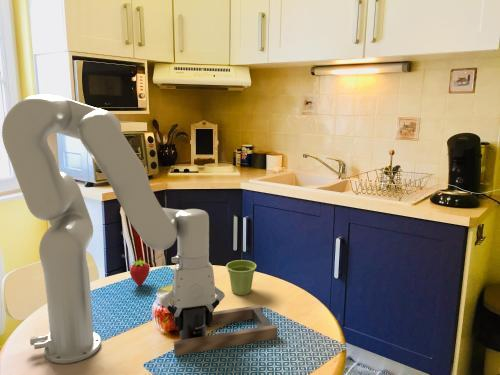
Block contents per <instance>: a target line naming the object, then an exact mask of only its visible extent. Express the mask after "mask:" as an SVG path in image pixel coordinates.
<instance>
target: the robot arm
mask: <svg viewBox="0 0 500 375" xmlns="http://www.w3.org/2000/svg"><path fill="white" fill-rule="evenodd" d="M3 120H4V121H3V123H2V127H1V137H2V142H3V145H4V149H5V152H6V153H7V157H8V159H9V161H10V163H11V165H12V166H11V167H12V168H13V171H14V174H15V178H16V180H17V182H18V185H19V188H20V190H21V193H22V196H23V198H24V200H25V204H26V206H27V208H28V210H29V212H30V213H31V214H32V216H33V217H35V218H36V219H39V220H41V221H48V222H49V224H50V227H48V229H47V230H46V231H45V232H44V233H43V236H42V238H41V240H40V242H39V246H38V247H39V248H38V249H39V250H38V252H39V259H40V262H41V267H42V270H43V277H44V286H45V294H46V304H47V315H48V323H49V326H48V328H49V332H48V333H45V335H35V336H31V337H29V338H30V339H29V344H30V346H34V347H33V348H34V350H40V349H43V348H44V357H45V358H46V359H47V361H49V362H52V363H56V364H71V363H76V362H77V363H78V362H80V361H83V360H86V359H88V358H90V357H91V356H92V355H94V354H95V353H97V351H98V350H99V349H100V347H101V344H102V342H101V340H102V339H101V335H99V334H98V333H96V332H95V331H94V324H93V322H94V320H93V309H92V296H91V295H92V292H91V283H90V282H91V280H90V271H89V265H88V259H87V249H88V247H89V244H90V242H91V240H92V239H93V235H94V226H93V222H92V219H91V216H90V213H89V210H88V207H87V204H86V203H85V199H84V197H83V194H82V191H81V188H80V186H79V184H78V183H77V181H76V180H75V179H74V177H72V176H71V175H70V174H68V173H66V172H63V171H60V169H59V166H58V163H57V160H56V158H55V155H54V153H53V150H52V149H51V148H50V145H49V143H48V138H49V136H51V135H52V134H53V135H54V134H59V135H63V136H66V137H71V138H74V139H77V140H80V142H81V144H82V145H83V146H84V148H85V150H86V151H87V153H88V154H89V155H90V157H91V159H92V160H93V161H94V162H95V164H96V166H97V167H98V169H99V170H100V172H101V173H102V174H103V176H104V178H106V180H107V182H108V184H109V185H110V186H111V189H112V191H113V193H114V195H115V197H116V199H117V201H118V202H119V205H120V207H121V209H122V210H123V212H124V214H125V215H126V217H127V220H128V221H129V223H130V224H131V225H132V228H134V230H135V231H136V232H137V234H138V236H139V238H140V239H141V240H142V242H143V243H144V244H145V245H146V246H147V247H148V248H150V249H153V250H155V251H165V250H167V249H169V248H171V247H172V246H173V245H174V244H175V242H176V240H177V254H176V255H175V256H172V257H171V263H173V264H174V263H175V266H174V270H173V275H172V276H173V278H172V290H170V291H169V292H168V293H167V294H166V295H165V296H163V298H162V299H161V300H160V304H161V305H162V306H163V307H164V308H165V309H166V310H167V311H168V312H169V313H171V314H172V315H173V318H174V325H175V327H177V328H178V331H177V332H180V331H181V315H180V312H181V310H182V308H190V307H198V306H205V305H206V306H207V327H208V328H211V325H210V322H212V318H213V312H215V309H216V308H217V307H218V306H219V305H220V303H221V301H222V300H223V299H224V298H225V295H226V294H225V292H223V291H222V290H221V289H219V288H218V287H217V286H216V285H215V275H214V268H213V265H212V263H211V262H210V260H209V259H210V258H209V256H210V243H209V242H210V219H209V218H210V216H209V213H208V212H207V211H206V210H203V209H198V208H187V209H177V208H176V209H175V208H169V207H168V208H167V207H162V205H161V204H160V202H159V200H158V199H157V197H156V195H155V193H154V191H153V188H152V186H151V183H150V180H149V176H148V173H147V170H146V167H145V166H144V164H143V162H142V161H141V159H140V158H139V157H138V156H139V155H137V154H136V152H135V150H134V149H133V147H132V146H131V144H130V143H129V141H128V140H127V137H126V136H125V135H124V133H123V132H122V124H121V122H120V120H119V118H118V117H117V116H116V115H115V114H114V113H112V112H110V111H108V110H105V109H102V108H97V107H94V106H91V105H88V104H84V103H81V102H78V101H75V100H72V99H68V98H65V97H63V96H60V95H54V94H35V95H30V96H28V97H25V98H23V99H21V100H20V101H18V102H16V104H14V105H13V106H12V107H11V108H10V110H9V111H8V112H7V113H6V116H5V117H4V119H3ZM171 300H173V304H174V305H173V304H171V303H170V302H171Z"/></svg>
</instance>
